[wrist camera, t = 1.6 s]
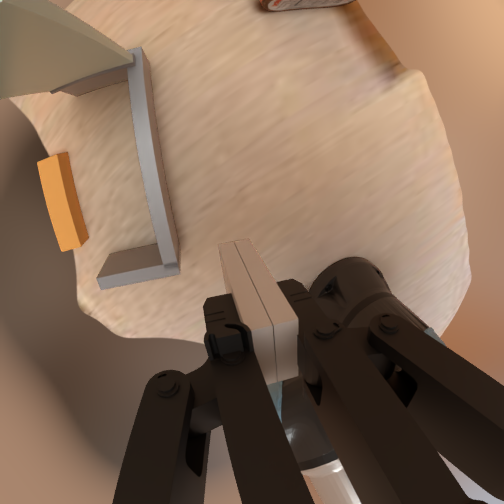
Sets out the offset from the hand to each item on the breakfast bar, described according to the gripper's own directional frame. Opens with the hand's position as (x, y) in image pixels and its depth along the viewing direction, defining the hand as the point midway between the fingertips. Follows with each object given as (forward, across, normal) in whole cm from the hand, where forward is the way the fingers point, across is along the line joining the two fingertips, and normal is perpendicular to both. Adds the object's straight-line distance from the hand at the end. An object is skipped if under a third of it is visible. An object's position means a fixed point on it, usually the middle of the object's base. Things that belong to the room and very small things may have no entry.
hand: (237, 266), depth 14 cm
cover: (+4, +10, -13) cm, 17 cm away
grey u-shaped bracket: (+22, +10, -5) cm, 25 cm away
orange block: (+23, +19, -3) cm, 30 cm away
